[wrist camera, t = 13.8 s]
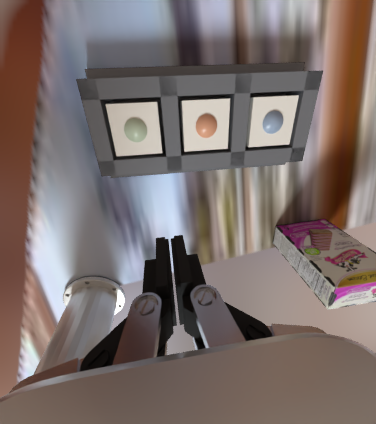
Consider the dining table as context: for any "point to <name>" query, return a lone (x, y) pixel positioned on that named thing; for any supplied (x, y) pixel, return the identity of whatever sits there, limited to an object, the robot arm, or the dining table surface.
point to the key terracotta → (205, 124)
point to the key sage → (135, 128)
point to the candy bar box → (329, 262)
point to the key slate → (270, 120)
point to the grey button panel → (197, 90)
